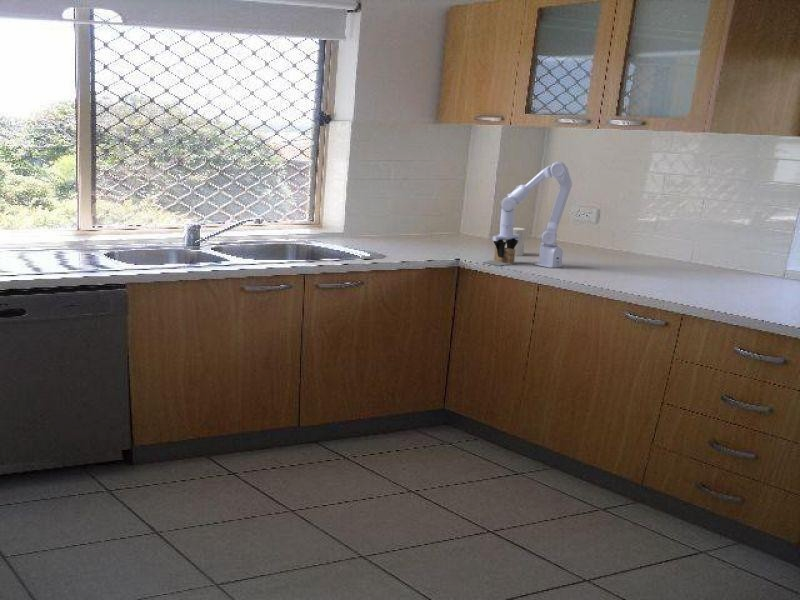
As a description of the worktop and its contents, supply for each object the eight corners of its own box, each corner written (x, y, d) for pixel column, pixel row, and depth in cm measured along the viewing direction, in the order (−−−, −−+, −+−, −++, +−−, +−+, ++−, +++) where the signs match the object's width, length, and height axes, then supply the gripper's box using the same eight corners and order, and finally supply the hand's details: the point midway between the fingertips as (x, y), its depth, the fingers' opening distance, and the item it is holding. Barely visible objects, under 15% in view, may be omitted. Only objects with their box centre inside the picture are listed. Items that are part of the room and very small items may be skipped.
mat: (517, 264, 363) (517, 263, 363) (499, 266, 356) (499, 265, 356) (500, 260, 370) (500, 259, 370) (482, 262, 363) (482, 261, 363)
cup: (502, 254, 387) (504, 228, 385) (509, 252, 394) (510, 227, 392) (519, 256, 384) (521, 230, 381) (525, 254, 391) (527, 228, 388)
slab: (514, 263, 363) (515, 249, 362) (509, 263, 361) (510, 249, 360) (499, 260, 369) (499, 246, 368) (494, 260, 368) (494, 246, 366)
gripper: (511, 223, 369) (509, 254, 372) (488, 225, 360) (486, 256, 363) (523, 225, 364) (521, 256, 367) (500, 227, 355) (498, 259, 358)
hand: (504, 256), depth 364 cm, fingers open, 5 cm apart
